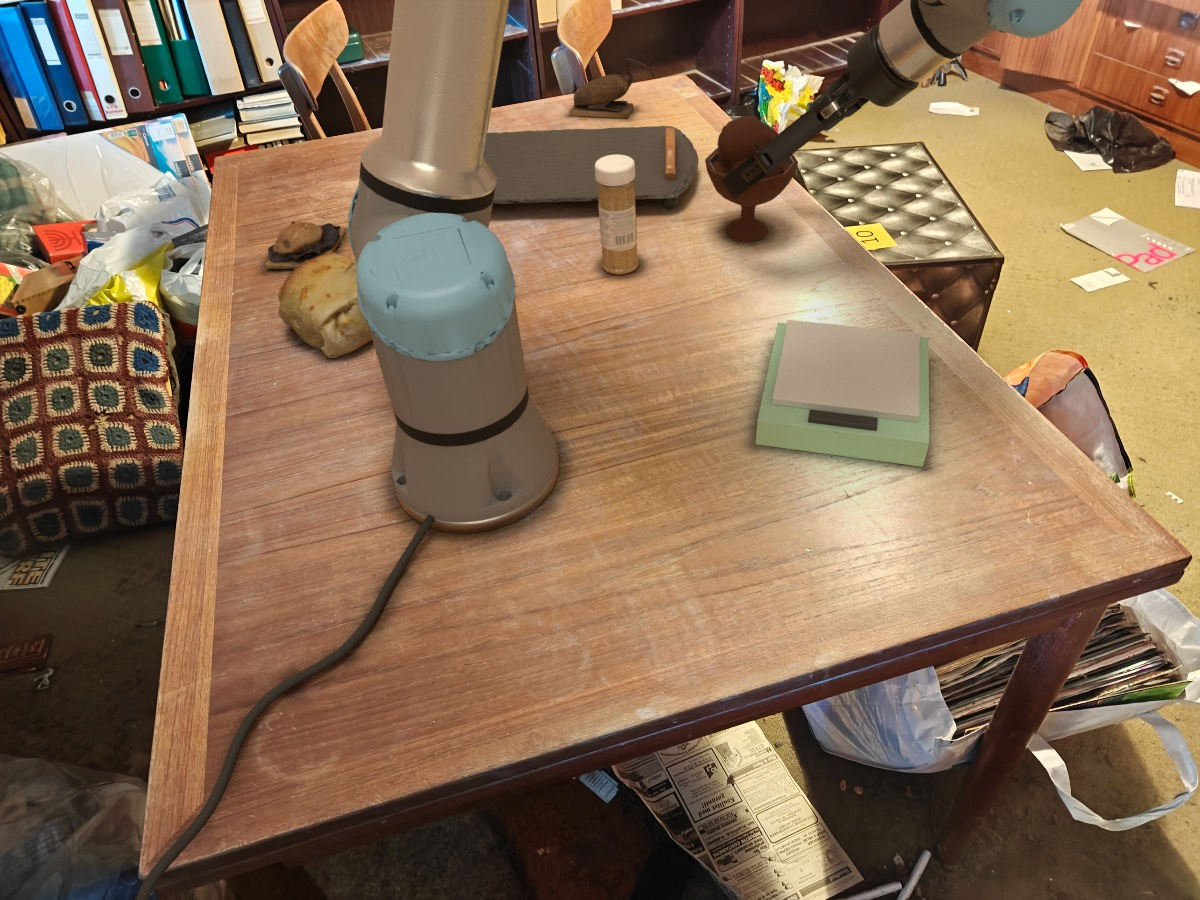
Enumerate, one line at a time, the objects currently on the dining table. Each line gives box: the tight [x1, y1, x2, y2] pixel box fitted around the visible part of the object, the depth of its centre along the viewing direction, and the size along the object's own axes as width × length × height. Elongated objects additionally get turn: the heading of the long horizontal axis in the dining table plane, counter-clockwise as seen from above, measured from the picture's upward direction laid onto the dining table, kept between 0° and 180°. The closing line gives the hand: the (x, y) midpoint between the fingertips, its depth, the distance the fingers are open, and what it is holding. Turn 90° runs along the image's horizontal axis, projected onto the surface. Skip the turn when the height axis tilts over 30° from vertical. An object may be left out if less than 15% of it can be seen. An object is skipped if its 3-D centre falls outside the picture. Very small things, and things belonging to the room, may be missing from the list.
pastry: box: [277, 251, 373, 359], centre depth 97 cm, size 14×12×8 cm
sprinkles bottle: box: [595, 155, 639, 275], centre depth 101 cm, size 5×5×13 cm
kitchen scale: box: [754, 319, 931, 468], centre depth 83 cm, size 16×15×4 cm
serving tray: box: [483, 125, 700, 210], centre depth 121 cm, size 39×23×6 cm, turn 87°
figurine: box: [569, 57, 656, 119], centre depth 138 cm, size 14×4×9 cm, turn 74°
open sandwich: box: [265, 221, 346, 270], centre depth 112 cm, size 11×8×4 cm
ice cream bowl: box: [704, 115, 799, 243], centre depth 104 cm, size 11×11×15 cm
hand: (757, 165), depth 103 cm, fingers open, 13 cm apart
